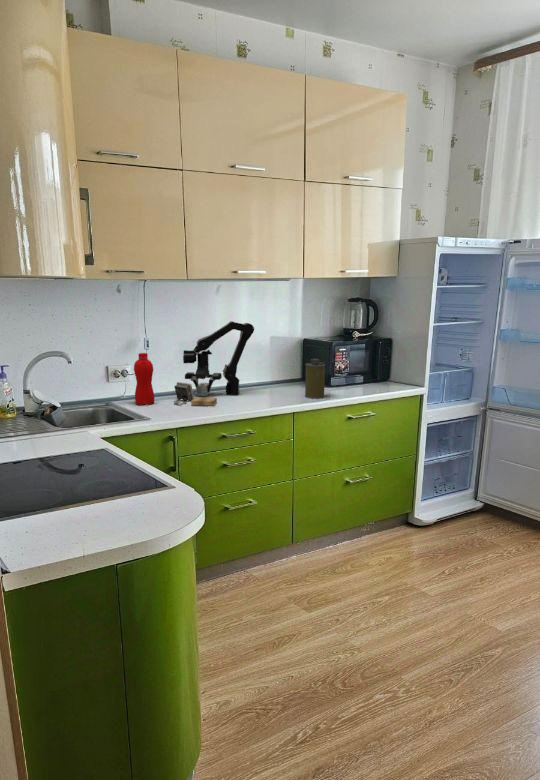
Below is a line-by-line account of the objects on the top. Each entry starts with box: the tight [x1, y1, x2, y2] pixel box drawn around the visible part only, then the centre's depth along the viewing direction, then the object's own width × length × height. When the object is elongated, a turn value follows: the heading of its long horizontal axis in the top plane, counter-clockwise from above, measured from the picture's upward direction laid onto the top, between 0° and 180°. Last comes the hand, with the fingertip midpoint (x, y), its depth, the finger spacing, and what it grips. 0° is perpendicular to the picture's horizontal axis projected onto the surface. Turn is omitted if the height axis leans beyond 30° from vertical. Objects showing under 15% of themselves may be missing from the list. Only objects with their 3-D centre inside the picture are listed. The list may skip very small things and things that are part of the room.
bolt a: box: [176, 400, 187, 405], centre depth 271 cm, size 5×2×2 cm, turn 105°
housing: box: [195, 382, 211, 397], centre depth 292 cm, size 6×9×6 cm, turn 175°
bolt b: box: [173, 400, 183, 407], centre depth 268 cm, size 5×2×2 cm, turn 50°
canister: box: [304, 358, 326, 399], centre depth 289 cm, size 11×10×20 cm
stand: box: [190, 397, 218, 407], centre depth 270 cm, size 11×8×2 cm
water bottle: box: [133, 352, 155, 406], centre depth 271 cm, size 9×11×25 cm
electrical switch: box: [174, 381, 195, 402], centre depth 279 cm, size 9×5×9 cm, turn 57°
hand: (203, 391), depth 292 cm, fingers closed on housing, 5 cm apart
